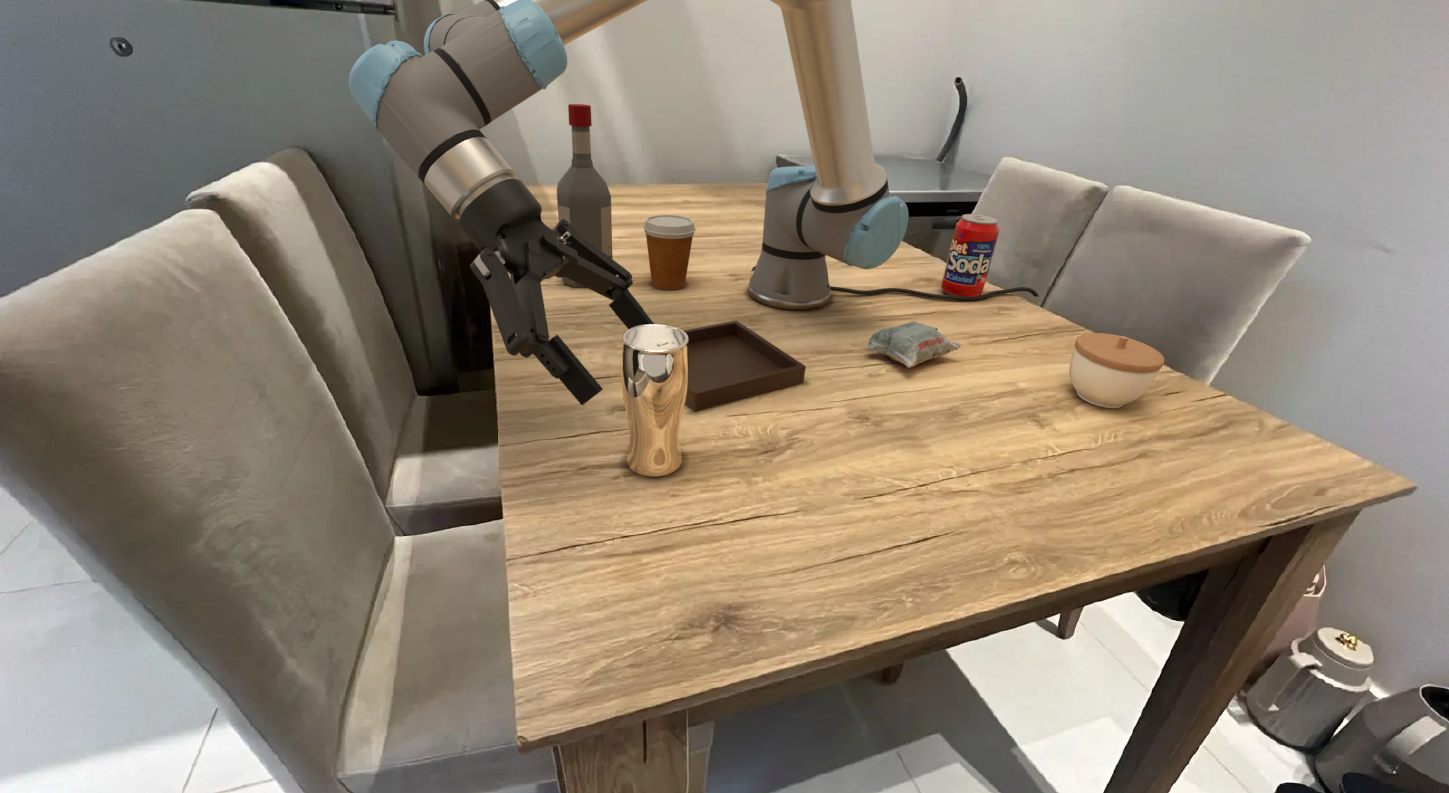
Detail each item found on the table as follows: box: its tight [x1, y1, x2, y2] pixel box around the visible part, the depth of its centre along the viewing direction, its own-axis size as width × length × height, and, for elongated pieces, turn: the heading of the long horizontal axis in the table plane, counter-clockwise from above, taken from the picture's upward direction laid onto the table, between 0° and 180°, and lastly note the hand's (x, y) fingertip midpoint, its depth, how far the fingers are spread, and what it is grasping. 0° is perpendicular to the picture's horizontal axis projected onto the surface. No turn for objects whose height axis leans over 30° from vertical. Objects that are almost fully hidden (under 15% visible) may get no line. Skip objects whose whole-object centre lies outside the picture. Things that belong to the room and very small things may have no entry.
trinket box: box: [1068, 332, 1165, 409], centre depth 87 cm, size 11×11×9 cm
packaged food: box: [867, 321, 962, 369], centre depth 96 cm, size 9×12×5 cm
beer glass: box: [620, 323, 689, 478], centre depth 66 cm, size 7×7×15 cm
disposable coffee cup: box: [642, 214, 697, 291], centre depth 116 cm, size 10×10×12 cm
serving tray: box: [682, 320, 807, 412], centre depth 89 cm, size 18×18×3 cm
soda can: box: [940, 213, 1000, 297], centre depth 121 cm, size 8×8×15 cm
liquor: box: [556, 103, 614, 288], centre depth 111 cm, size 9×9×30 cm
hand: (626, 368), depth 65 cm, fingers open, 13 cm apart
